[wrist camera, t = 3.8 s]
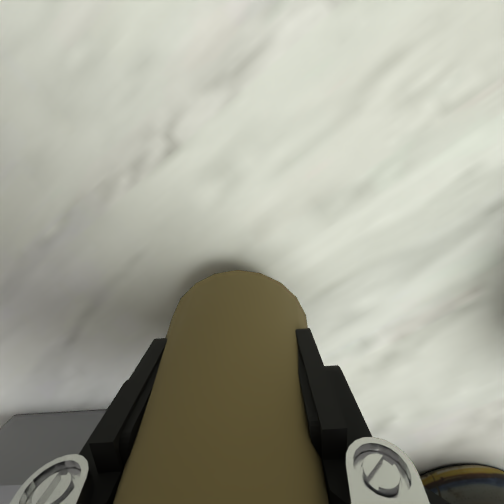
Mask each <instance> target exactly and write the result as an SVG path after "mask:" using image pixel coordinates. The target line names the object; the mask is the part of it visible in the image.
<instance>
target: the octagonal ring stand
mask: <svg viewBox="0 0 504 504" xmlns="http://www.w3.org/2000/svg"><path fill="white" fill-rule="evenodd" d="M106 411H107V410H95V411H78V412H61V413H44V414H27V415H15V416H13V417H12V418H11V419H10V420H9V421H8V422H7V423H6V424H5V425H4V426H3V427H1V428H0V504H10V502H11V501H12V499H13V497H14V496H15V494H16V493H17V492H18V490H19V489H20V487H21V486H22V485H23V483H24V482H25V481H26V480H27V479H28V478H29V477H30V476H31V475H32V474H33V473H35V472H36V471H37V470H39V469H40V468H41V467H43V466H44V465H45V464H47V463H49V462H51V461H53V460H54V459H56V458H59V457H62V456H65V455H71V454H79V453H80V451H81V450H82V448H83V447H84V445H85V443H86V442H87V440H88V439H89V437H90V436H91V434H92V432H93V431H94V429H95V428H96V426H97V425H98V423H99V422H100V420H101V418H102V417H103V415H104V414H105V412H106Z"/></svg>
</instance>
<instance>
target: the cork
mask: <svg viewBox="0 0 504 504" xmlns="http://www.w3.org/2000/svg"><path fill="white" fill-rule="evenodd" d="M304 328H307V320H306V315H305V313H304V311H303V309H302V307H301V305H300V303H299V301H298V299H297V298H296V296H294V295H293V294H292V293H291V292H290V291H289V290H288V289H287V288H286V287H285V286H284V285H283V284H282V283H280V282H278V281H276V280H274V279H272V278H270V277H267V276H265V275H263V274H261V273H256V272H248V271H241V270H235V271H229V272H222V273H216V274H213V275H211V276H210V277H208V278H206V279H204V280H202V281H200V282H198V283H196V284H195V285H194V286H193V287H192V288H191V289H190V290H189V291H188V292H187V293H186V294H185V295H184V296H183V297H182V298H181V299H180V301H179V303H178V306H177V308H176V310H175V312H174V314H173V317H172V320H171V323H170V326H169V329H168V332H167V335H166V338H168V339H167V343H166V346H165V349H164V352H163V354H162V358H161V361H160V365H159V368H158V371H157V375H156V378H155V381H154V385H153V388H152V391H151V394H150V397H149V400H148V403H147V406H146V409H145V412H144V415H143V418H142V421H141V424H140V427H139V430H138V433H137V435H136V438H135V441H134V444H133V447H132V450H131V453H130V456H129V458H128V460H127V462H126V464H125V467H124V470H123V473H122V476H121V479H120V482H119V485H118V489H117V492H116V495H115V498H114V501H113V504H329V500H328V492H327V485H326V480H325V475H324V470H323V465H322V459H321V458H320V456H319V454H318V453H317V451H316V449H315V448H314V446H313V444H312V443H311V437H310V432H309V427H308V422H307V416H306V411H305V406H304V401H303V396H302V391H301V385H300V380H299V375H298V341H297V337H296V332H295V330H296V329H304Z"/></svg>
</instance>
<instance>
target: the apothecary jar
mask: <svg viewBox="0 0 504 504" xmlns="http://www.w3.org/2000/svg"><path fill="white" fill-rule="evenodd" d="M420 479H421V481H422V484H423V486H424V487H426V488H427V489H429V490H431V491H432V492H434V493H435V494H437V495H438V496H440V497H441V498H443V499H444V500H446V501H448V502H449V503H451V504H504V471H502V470H499V469H496V468H492V467H488V466H482V465H458V466H450V467H445V468H441V469H437V470H434V471H432V472H428V473H425V474H423V475H421V476H420Z"/></svg>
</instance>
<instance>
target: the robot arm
mask: <svg viewBox="0 0 504 504" xmlns="http://www.w3.org/2000/svg"><path fill="white" fill-rule="evenodd" d="M295 332H296V337H297V341H298V375H299V380H300V385H301V391H302V396H303V401H304V406H305V411H306V416H307V422H308V427H309V432H310V437H311V443H312V444H313V446H314V448H315V449H316V451H317V453H318V454H319V456H320V458H321V459H322V465H323V470H324V475H325V480H326V485H327V492H328V500H329V504H451V503H449V502H448V501H446V500H444V499H443V498H441V497H440V496H438V495H437V494H435V493H434V492H432V491H431V490H429V489H427V488H426V487H424V486H423V484H422V481H421V479H420V476H419V473H418V471H417V470H416V468H415V466H414V464H413V462H412V461H411V460H410V458H409V457H408V456H407V455H406V454H405V453H404V452H403V451H402V450H401V449H399V448H398V447H397V446H395V445H394V444H392V443H390V442H388V441H386V440H384V439H380V438H375V437H372V435H371V433H370V431H369V429H368V427H367V425H366V422H365V420H364V418H363V416H362V414H361V412H360V409H359V407H358V405H357V403H356V401H355V399H354V396H353V394H352V392H351V390H350V388H349V386H348V383H347V381H346V379H345V377H344V375H343V373H342V370H341V369H340V367H339V366H338V365H337V366H324V365H323V362H322V359H321V357H320V354H319V351H318V349H317V346H316V343H315V341H314V338H313V335H312V333H311V330H310V328H304V329H296V330H295ZM167 339H168V338H161V339H154V340H153V342H152V344H151V345H150V347H149V348H148V350H147V351H146V353H145V355H144V356H143V358H142V359H141V361H140V363H139V364H138V366H137V367H136V369H135V371H134V372H133V374H132V375H131V377H130V379H129V380H127V381H126V382H125V383H124V384H123V386H122V387H121V389H120V390H119V392H118V393H117V395H116V397H115V398H114V400H113V401H112V403H111V404H110V406H109V407H108V409H107V411H106V412H105V414H104V415H103V417H102V418H101V420H100V422H99V423H98V425H97V426H96V428H95V429H94V431H93V432H92V434H91V436H90V437H89V439H88V440H87V442H86V443H85V445H84V447H83V448H82V450H81V451H80V453H79V454H71V455H65V456H62V457H59V458H56V459H54V460H53V461H51V462H49V463H47V464H45V465H44V466H43V467H41V468H40V469H39V470H37V471H36V472H35V473H33V474H32V475H31V476H30V477H29V478H28V479H27V480H26V481H25V482H24V483H23V485H22V486H21V487H20V489H19V490H18V492H17V493H16V494H15V496H14V497H13V499H12V501H11V502H10V504H113V501H114V498H115V495H116V492H117V489H118V485H119V482H120V479H121V476H122V473H123V470H124V467H125V464H126V462H127V460H128V458H129V456H130V453H131V450H132V447H133V444H134V441H135V438H136V435H137V433H138V430H139V427H140V424H141V421H142V418H143V415H144V412H145V409H146V406H147V403H148V400H149V397H150V394H151V391H152V388H153V385H154V381H155V378H156V375H157V371H158V368H159V365H160V361H161V358H162V354H163V352H164V349H165V346H166V343H167Z"/></svg>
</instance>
